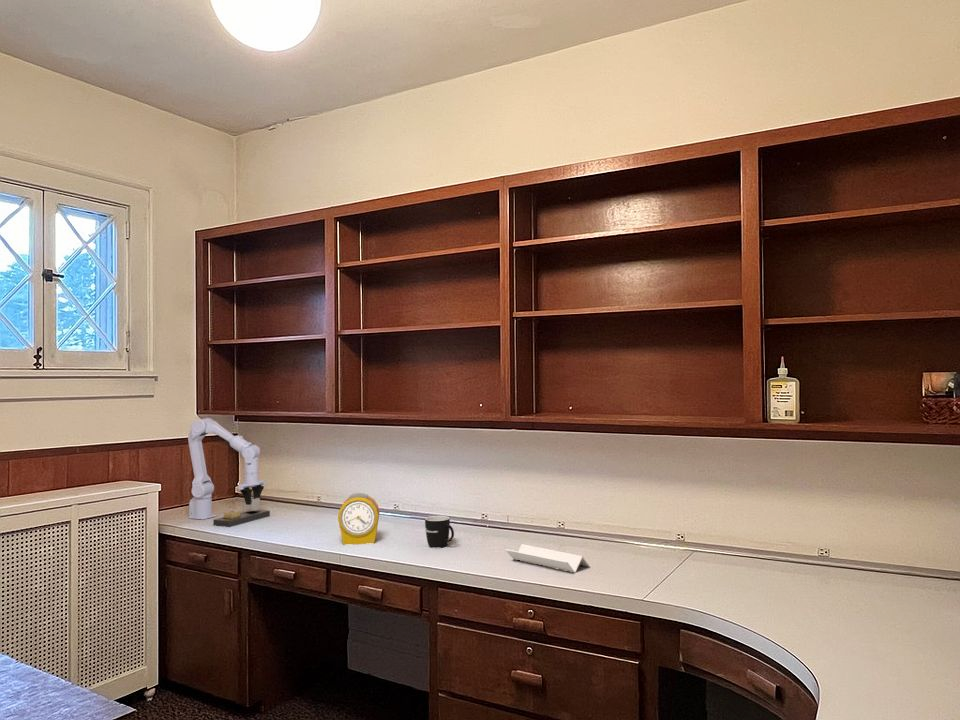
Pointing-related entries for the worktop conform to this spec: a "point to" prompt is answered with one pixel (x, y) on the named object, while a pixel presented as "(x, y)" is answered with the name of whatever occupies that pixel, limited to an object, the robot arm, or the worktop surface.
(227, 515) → the yellow block with knob
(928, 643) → the worktop surface
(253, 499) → the cube with round knob
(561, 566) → the z bracket
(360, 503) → the alarm clock
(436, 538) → the mug
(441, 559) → the worktop surface
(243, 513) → the dark grey socket board
